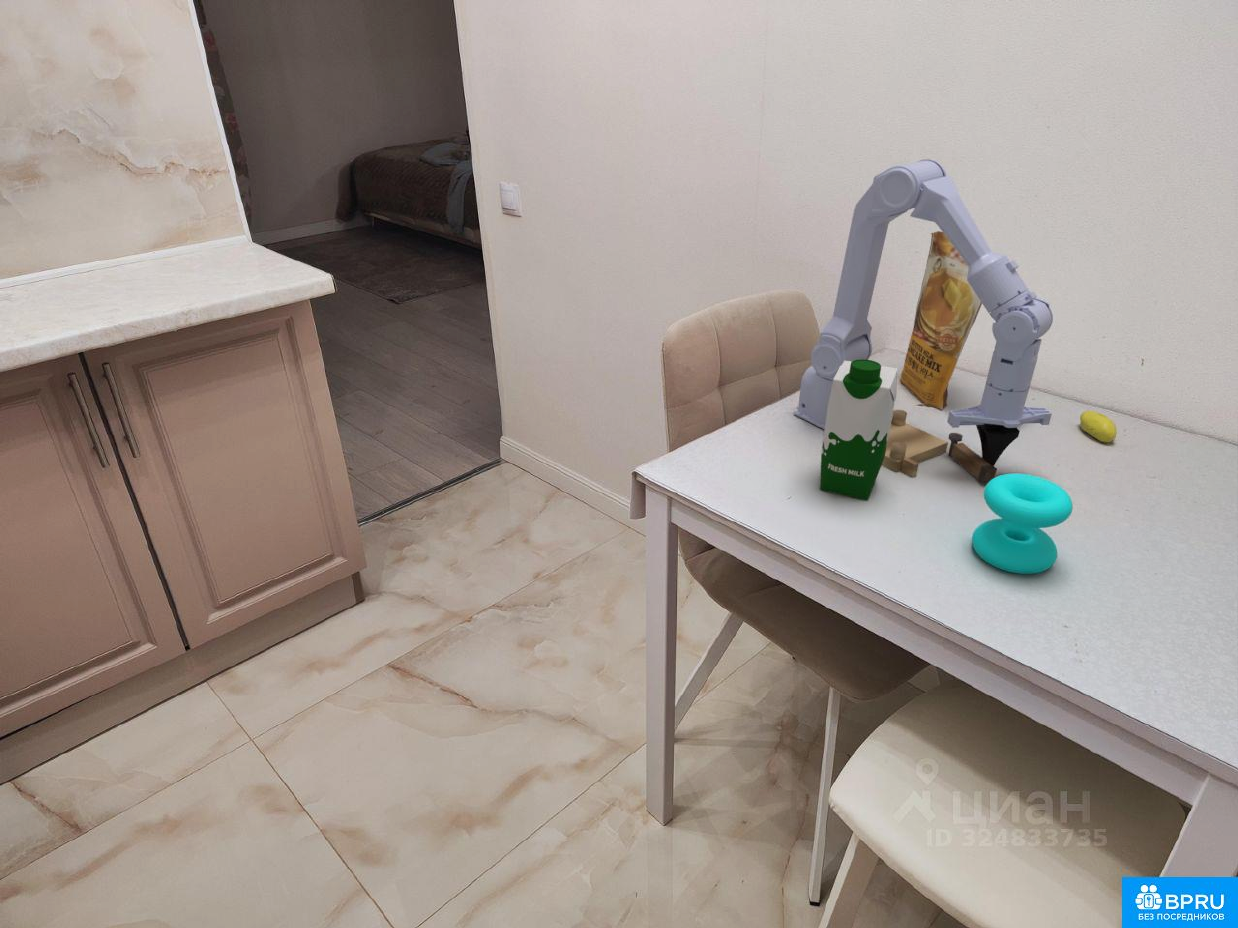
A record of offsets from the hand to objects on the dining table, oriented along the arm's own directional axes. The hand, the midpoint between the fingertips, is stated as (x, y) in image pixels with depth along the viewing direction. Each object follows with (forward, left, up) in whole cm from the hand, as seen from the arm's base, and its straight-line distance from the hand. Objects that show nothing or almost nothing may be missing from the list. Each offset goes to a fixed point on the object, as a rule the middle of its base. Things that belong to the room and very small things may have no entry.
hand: (986, 466), depth 120 cm
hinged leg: (-2, -1, -1) cm, 2 cm away
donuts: (+15, -16, -2) cm, 22 cm away
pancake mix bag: (-25, +18, -2) cm, 31 cm away
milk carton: (-9, -20, -2) cm, 22 cm away
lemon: (+2, +27, -2) cm, 28 cm away
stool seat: (-12, -4, -1) cm, 13 cm away
